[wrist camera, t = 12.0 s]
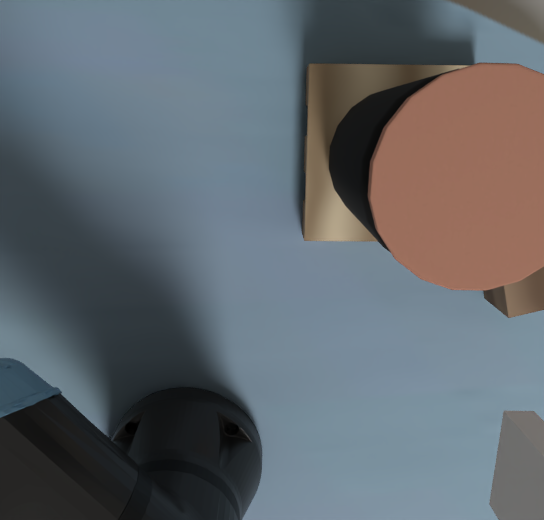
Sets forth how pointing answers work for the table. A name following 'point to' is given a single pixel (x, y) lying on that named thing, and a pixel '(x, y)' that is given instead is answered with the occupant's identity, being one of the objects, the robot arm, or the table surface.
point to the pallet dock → (321, 128)
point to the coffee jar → (450, 173)
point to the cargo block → (519, 295)
